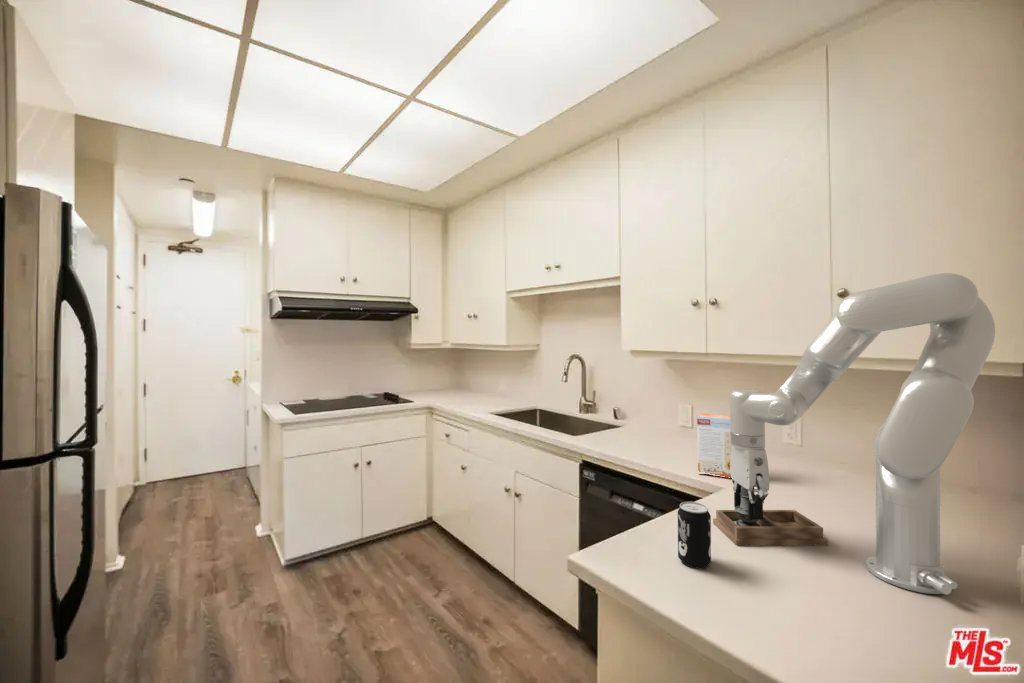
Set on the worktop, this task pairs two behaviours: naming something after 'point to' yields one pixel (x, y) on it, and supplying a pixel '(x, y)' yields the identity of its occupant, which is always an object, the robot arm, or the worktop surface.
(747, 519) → the salt shaker
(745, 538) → the wooden divided tray
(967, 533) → the worktop surface
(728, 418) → the cracker box
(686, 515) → the beverage can
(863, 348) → the robot arm
